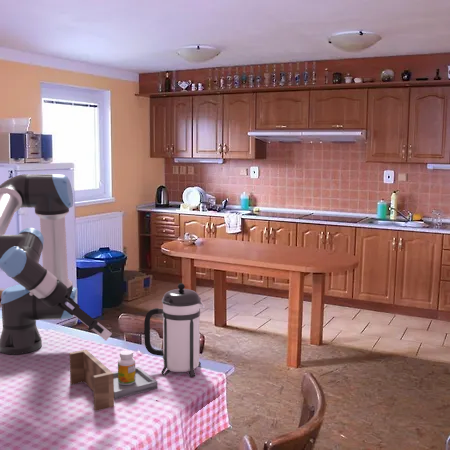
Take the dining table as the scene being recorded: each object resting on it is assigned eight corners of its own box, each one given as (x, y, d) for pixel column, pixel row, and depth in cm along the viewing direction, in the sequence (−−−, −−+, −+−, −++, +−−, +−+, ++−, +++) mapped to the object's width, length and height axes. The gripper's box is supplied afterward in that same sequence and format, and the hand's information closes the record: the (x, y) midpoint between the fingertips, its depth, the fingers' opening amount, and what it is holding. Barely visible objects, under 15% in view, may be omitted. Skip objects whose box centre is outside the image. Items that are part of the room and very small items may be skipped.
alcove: (70, 383, 177) (69, 352, 175) (87, 379, 180) (86, 349, 178) (95, 411, 158) (94, 377, 157) (114, 406, 161) (113, 373, 160)
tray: (97, 382, 177) (97, 375, 177) (138, 373, 185) (138, 366, 185) (114, 399, 166) (114, 392, 166) (157, 388, 173) (157, 381, 173)
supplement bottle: (114, 382, 175) (114, 352, 174) (128, 377, 179) (128, 348, 178) (125, 387, 172) (124, 356, 170) (139, 382, 175) (138, 352, 174)
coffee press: (188, 357, 199) (188, 275, 195) (211, 373, 185) (212, 285, 181) (143, 367, 190) (142, 281, 185) (164, 384, 176) (164, 292, 172)
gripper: (27, 289, 168) (77, 328, 178) (52, 310, 147) (107, 353, 158) (44, 269, 170) (93, 309, 180) (71, 288, 149) (124, 332, 160)
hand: (100, 330), depth 169 cm, fingers open, 13 cm apart
